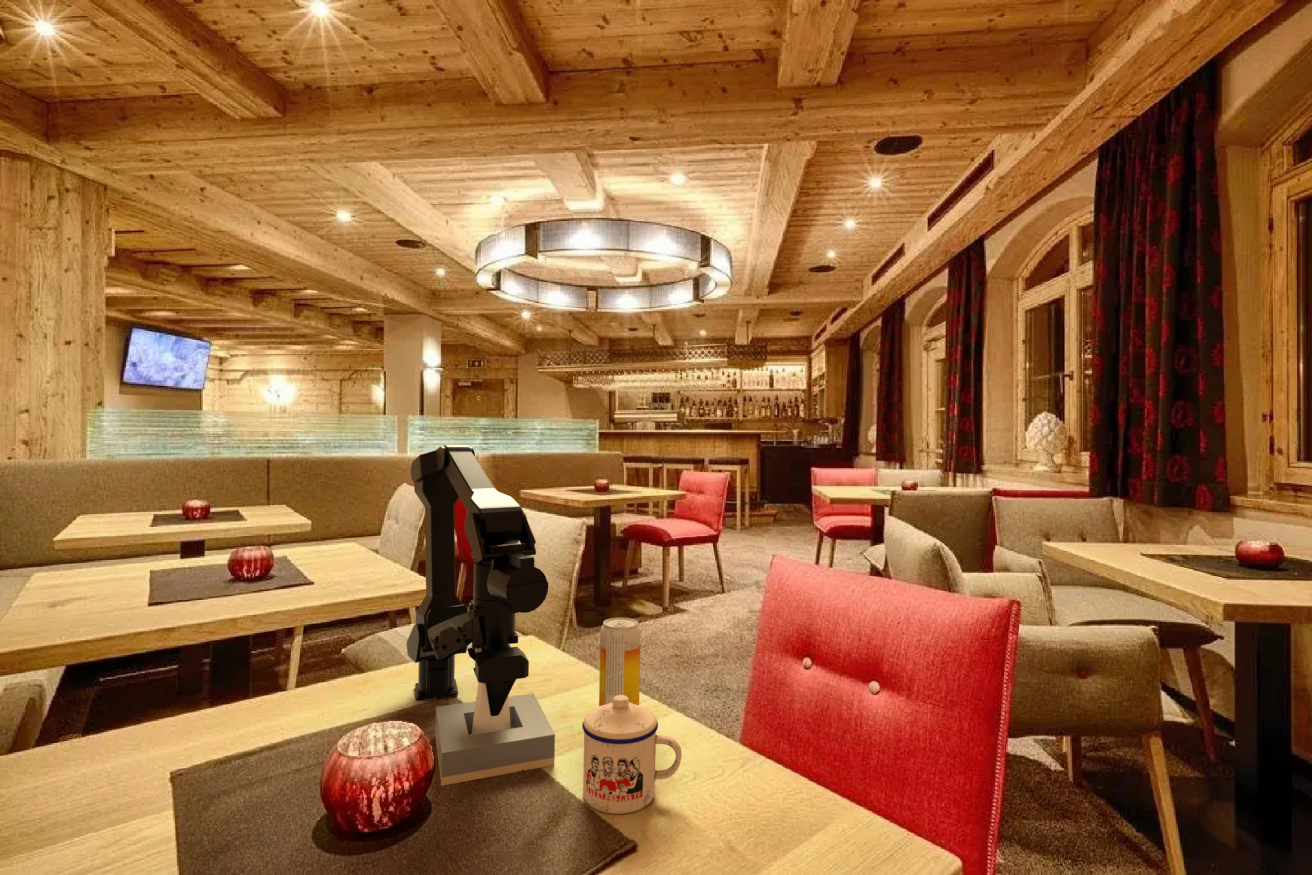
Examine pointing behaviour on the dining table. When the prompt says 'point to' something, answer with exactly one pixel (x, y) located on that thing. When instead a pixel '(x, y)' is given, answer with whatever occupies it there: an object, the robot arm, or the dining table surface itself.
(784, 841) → the dining table surface
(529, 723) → the socket block
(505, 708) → the pepper shaker
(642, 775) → the teacup with lid
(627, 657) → the beer can
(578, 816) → the dining table surface
